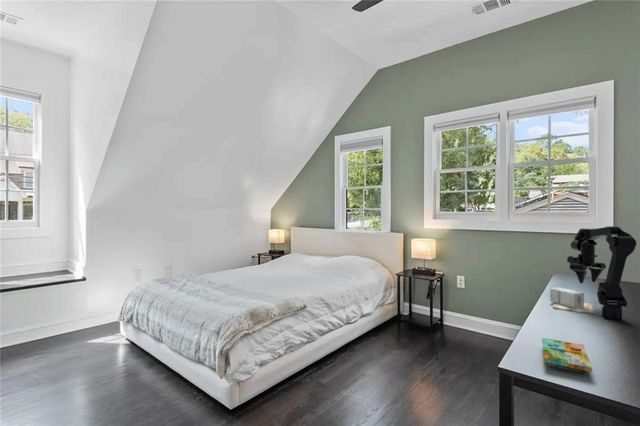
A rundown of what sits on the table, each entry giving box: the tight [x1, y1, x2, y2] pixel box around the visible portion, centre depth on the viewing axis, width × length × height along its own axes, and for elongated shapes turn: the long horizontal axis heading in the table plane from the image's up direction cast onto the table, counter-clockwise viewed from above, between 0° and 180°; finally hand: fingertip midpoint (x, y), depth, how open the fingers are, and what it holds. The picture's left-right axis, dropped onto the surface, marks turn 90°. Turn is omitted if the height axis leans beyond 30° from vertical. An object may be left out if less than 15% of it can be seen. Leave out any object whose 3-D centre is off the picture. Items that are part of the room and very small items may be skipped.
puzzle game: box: [542, 337, 593, 374], centre depth 109 cm, size 12×5×20 cm
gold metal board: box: [552, 302, 595, 315], centre depth 170 cm, size 16×18×1 cm
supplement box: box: [549, 286, 585, 308], centre depth 172 cm, size 7×7×13 cm
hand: (587, 282), depth 171 cm, fingers open, 9 cm apart
